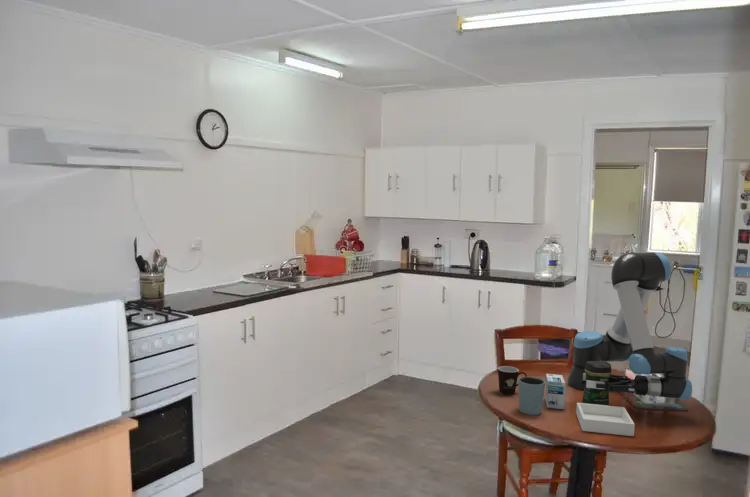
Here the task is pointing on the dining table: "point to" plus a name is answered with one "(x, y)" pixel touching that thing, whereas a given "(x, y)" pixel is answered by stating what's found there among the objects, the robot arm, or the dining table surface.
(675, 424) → the dining table surface
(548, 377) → the light bulb box
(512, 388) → the coffee mug
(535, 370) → the dining table surface
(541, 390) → the blue-grey cup
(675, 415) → the dining table surface
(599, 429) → the tray
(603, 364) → the coffee jar
